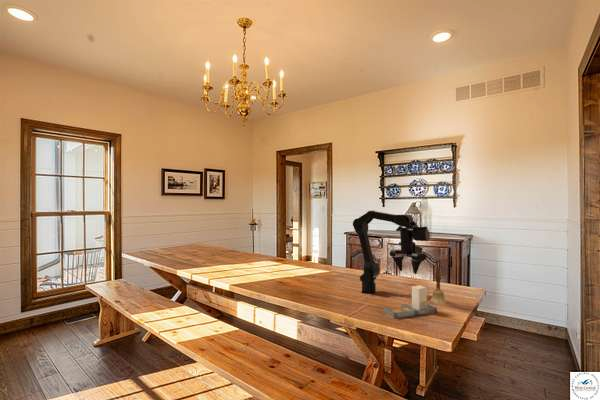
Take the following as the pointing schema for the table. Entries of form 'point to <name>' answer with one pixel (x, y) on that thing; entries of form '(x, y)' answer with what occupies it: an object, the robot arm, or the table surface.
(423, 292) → the cream rectangular block
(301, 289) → the table surface
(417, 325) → the table surface
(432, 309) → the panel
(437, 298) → the hand bell
